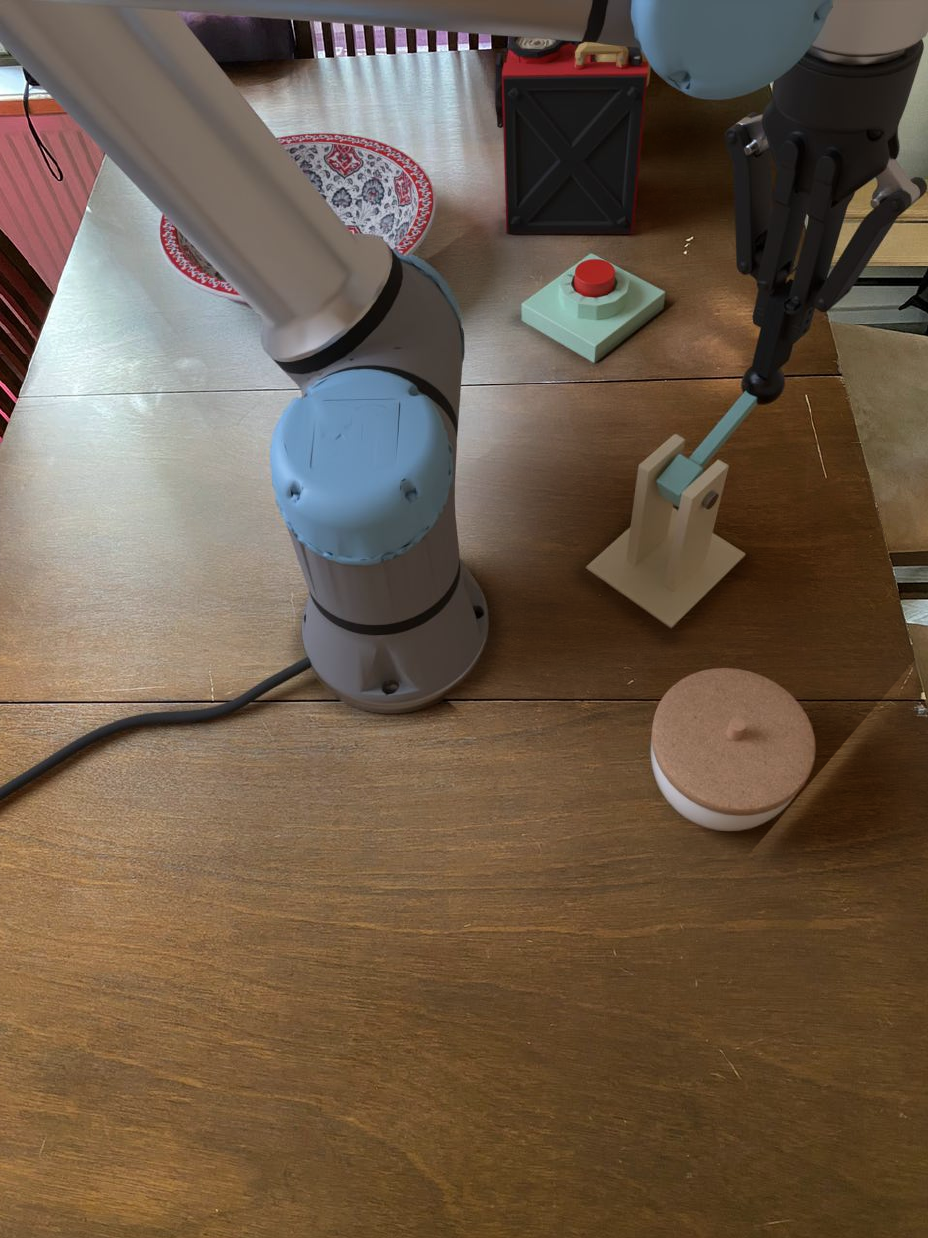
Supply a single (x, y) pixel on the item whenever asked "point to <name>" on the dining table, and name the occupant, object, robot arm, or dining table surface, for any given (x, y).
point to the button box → (592, 312)
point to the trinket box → (730, 748)
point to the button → (594, 278)
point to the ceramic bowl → (335, 200)
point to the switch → (719, 434)
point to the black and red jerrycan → (570, 134)
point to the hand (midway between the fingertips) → (769, 364)
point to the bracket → (669, 541)
